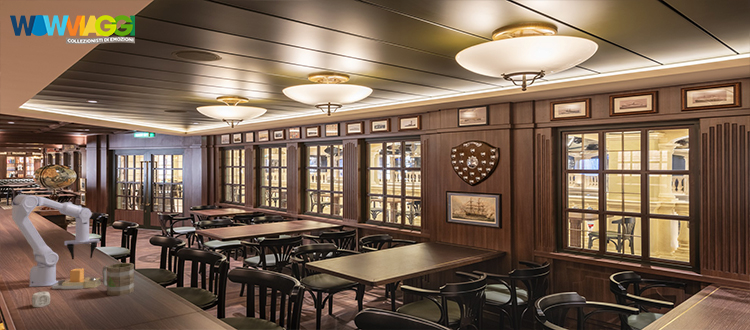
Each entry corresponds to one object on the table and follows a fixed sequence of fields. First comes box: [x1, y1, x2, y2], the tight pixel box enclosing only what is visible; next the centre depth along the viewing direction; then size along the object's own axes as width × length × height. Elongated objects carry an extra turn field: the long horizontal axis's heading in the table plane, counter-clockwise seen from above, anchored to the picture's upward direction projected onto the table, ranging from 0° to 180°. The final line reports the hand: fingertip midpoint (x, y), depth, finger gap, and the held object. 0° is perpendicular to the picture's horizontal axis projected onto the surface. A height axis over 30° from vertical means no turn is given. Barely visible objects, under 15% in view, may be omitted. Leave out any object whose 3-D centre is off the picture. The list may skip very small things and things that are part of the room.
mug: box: [102, 262, 135, 297], centre depth 197 cm, size 16×11×12 cm
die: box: [31, 291, 51, 308], centre depth 178 cm, size 5×5×5 cm
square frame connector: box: [51, 276, 102, 290], centre depth 204 cm, size 18×8×4 cm, turn 100°
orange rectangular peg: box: [69, 267, 85, 282], centre depth 204 cm, size 4×4×8 cm
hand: (82, 258), depth 221 cm, fingers open, 7 cm apart
